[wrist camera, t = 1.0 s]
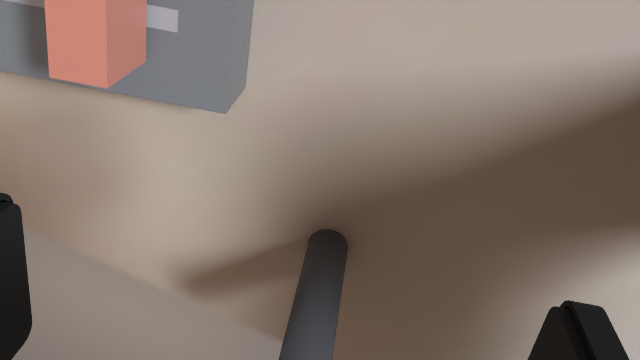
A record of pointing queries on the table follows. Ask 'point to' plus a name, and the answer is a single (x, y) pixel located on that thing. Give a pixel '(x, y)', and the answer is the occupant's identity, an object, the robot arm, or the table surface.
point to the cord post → (316, 299)
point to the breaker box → (153, 50)
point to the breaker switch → (95, 39)
